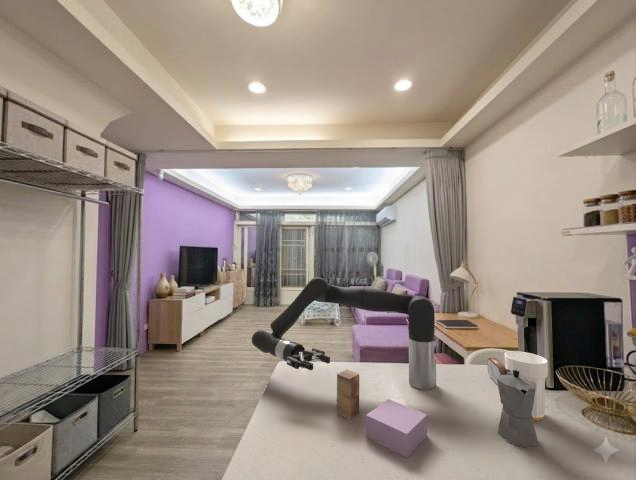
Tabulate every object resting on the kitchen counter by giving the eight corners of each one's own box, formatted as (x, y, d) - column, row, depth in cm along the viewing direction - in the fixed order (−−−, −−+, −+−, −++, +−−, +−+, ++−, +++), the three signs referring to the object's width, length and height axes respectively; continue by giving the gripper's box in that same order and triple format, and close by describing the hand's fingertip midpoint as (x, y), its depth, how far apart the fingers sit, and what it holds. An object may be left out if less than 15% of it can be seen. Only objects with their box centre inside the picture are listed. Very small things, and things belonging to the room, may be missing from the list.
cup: (543, 408, 95) (542, 354, 96) (554, 426, 85) (552, 366, 85) (502, 400, 100) (501, 349, 100) (508, 417, 89) (507, 359, 90)
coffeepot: (548, 456, 72) (546, 383, 73) (505, 448, 75) (503, 377, 76) (525, 422, 87) (523, 361, 88) (489, 416, 90) (488, 357, 90)
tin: (510, 392, 106) (510, 368, 106) (501, 391, 106) (500, 368, 107) (494, 375, 120) (493, 354, 121) (485, 374, 121) (485, 354, 121)
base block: (388, 419, 88) (388, 399, 89) (427, 436, 80) (427, 414, 80) (366, 437, 80) (366, 415, 80) (406, 459, 71) (406, 434, 72)
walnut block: (346, 406, 95) (346, 369, 95) (359, 412, 91) (359, 373, 92) (336, 413, 91) (337, 374, 91) (349, 419, 88) (349, 378, 88)
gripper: (275, 345, 105) (306, 357, 94) (303, 337, 116) (334, 347, 105) (274, 366, 105) (306, 381, 94) (303, 356, 115) (334, 369, 104)
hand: (321, 363), depth 99 cm, fingers open, 8 cm apart
